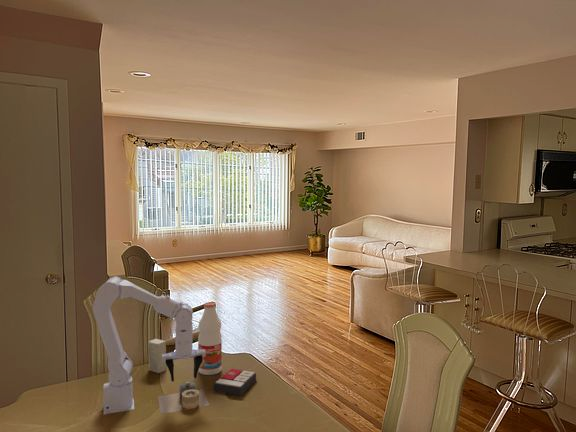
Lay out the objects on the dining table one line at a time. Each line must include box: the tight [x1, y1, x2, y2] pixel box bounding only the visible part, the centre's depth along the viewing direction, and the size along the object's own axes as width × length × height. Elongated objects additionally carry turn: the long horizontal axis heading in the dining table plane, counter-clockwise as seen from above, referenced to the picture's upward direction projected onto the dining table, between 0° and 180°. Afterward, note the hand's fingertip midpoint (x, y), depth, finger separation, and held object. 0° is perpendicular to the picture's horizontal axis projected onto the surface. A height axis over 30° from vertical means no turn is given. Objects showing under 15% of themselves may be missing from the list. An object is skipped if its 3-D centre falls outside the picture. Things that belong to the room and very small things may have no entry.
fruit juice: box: [197, 301, 223, 376], centre depth 176 cm, size 9×9×28 cm
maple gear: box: [182, 389, 199, 410], centre depth 148 cm, size 6×6×4 cm
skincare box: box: [147, 338, 168, 374], centre depth 177 cm, size 6×4×12 cm
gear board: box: [157, 381, 210, 415], centre depth 150 cm, size 16×13×6 cm
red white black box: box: [213, 368, 257, 398], centre depth 164 cm, size 11×4×15 cm
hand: (183, 378), depth 150 cm, fingers open, 7 cm apart
